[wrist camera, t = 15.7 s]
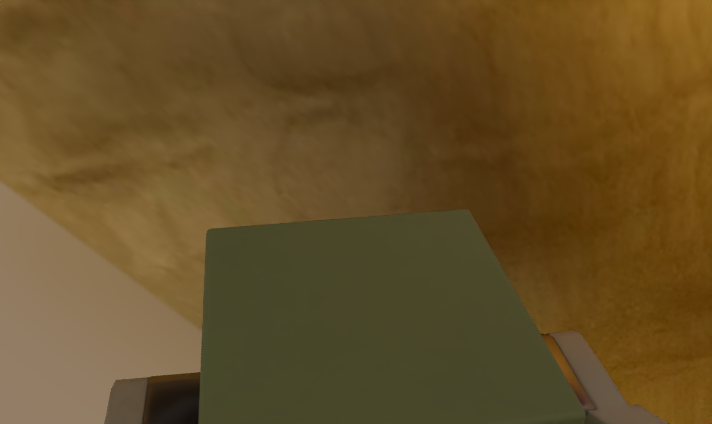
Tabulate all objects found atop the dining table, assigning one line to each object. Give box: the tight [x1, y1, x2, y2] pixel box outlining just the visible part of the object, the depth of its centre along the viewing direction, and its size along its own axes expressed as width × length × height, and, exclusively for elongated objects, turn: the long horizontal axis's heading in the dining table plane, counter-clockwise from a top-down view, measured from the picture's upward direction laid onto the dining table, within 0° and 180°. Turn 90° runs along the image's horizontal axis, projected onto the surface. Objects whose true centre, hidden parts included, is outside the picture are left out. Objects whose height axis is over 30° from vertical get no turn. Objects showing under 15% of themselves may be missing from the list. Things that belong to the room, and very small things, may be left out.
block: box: [198, 209, 586, 424], centre depth 10 cm, size 4×4×4 cm
